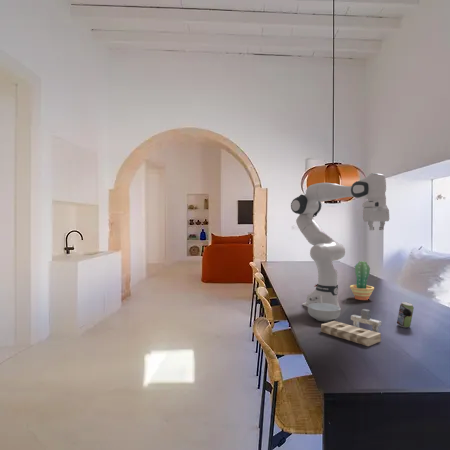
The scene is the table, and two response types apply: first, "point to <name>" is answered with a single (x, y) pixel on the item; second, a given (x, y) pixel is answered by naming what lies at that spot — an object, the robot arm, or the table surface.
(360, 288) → the potted cactus
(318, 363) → the table surface
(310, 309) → the cereal bowl
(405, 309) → the beverage can
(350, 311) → the table surface
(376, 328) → the gray u-shaped bracket
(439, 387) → the table surface
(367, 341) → the beige flat rectangular block
